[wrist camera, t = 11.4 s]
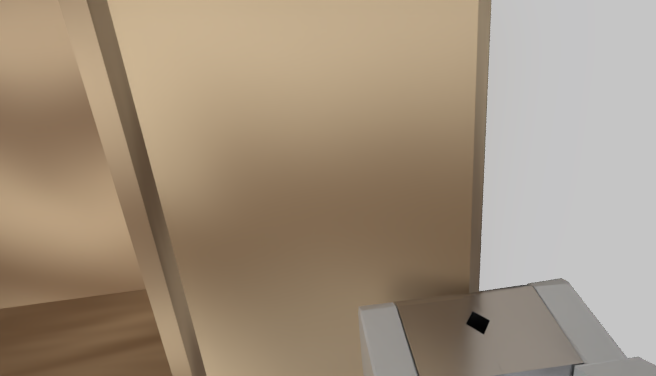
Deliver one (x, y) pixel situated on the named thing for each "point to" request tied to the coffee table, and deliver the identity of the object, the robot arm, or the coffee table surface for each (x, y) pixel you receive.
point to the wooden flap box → (81, 207)
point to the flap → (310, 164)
